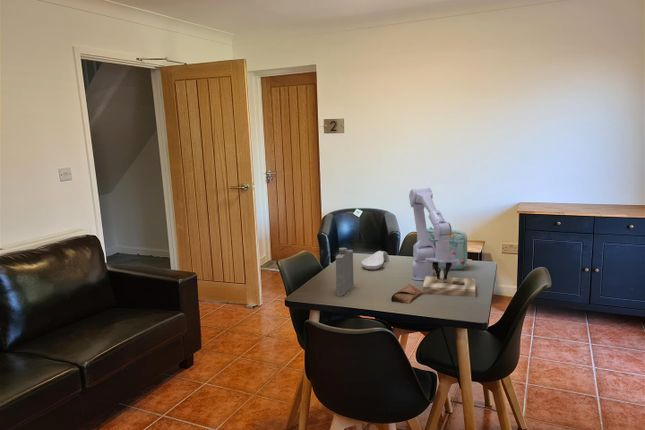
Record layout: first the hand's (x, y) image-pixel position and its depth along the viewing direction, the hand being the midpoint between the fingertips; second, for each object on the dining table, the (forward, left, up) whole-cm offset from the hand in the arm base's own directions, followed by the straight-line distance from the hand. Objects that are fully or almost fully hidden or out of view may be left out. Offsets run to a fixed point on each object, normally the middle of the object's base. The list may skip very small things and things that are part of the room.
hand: (441, 278), depth 205 cm
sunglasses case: (-13, -14, -6) cm, 20 cm away
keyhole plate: (+3, 0, -5) cm, 6 cm away
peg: (0, 0, -5) cm, 5 cm away
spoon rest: (-36, +34, -5) cm, 50 cm away
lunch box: (-2, +36, -5) cm, 37 cm away
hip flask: (-43, -11, -5) cm, 44 cm away
